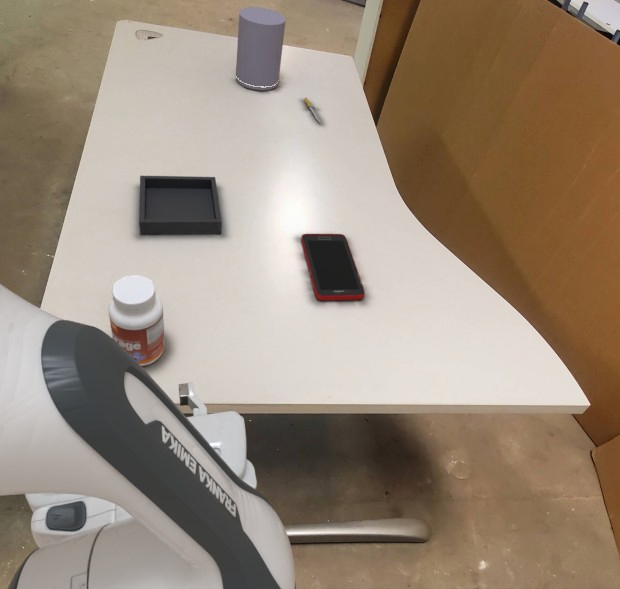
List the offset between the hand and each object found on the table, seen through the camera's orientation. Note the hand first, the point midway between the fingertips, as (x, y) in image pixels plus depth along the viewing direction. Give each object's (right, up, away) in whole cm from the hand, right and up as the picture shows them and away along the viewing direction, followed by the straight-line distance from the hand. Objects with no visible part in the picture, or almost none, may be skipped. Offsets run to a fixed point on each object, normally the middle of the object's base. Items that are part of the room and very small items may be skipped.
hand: (139, 391), depth 55 cm
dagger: (+19, +52, +66) cm, 86 cm away
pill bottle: (-4, +3, +12) cm, 13 cm away
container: (+5, +62, +72) cm, 95 cm away
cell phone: (+21, +14, +29) cm, 39 cm away
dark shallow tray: (-4, +24, +33) cm, 41 cm away
